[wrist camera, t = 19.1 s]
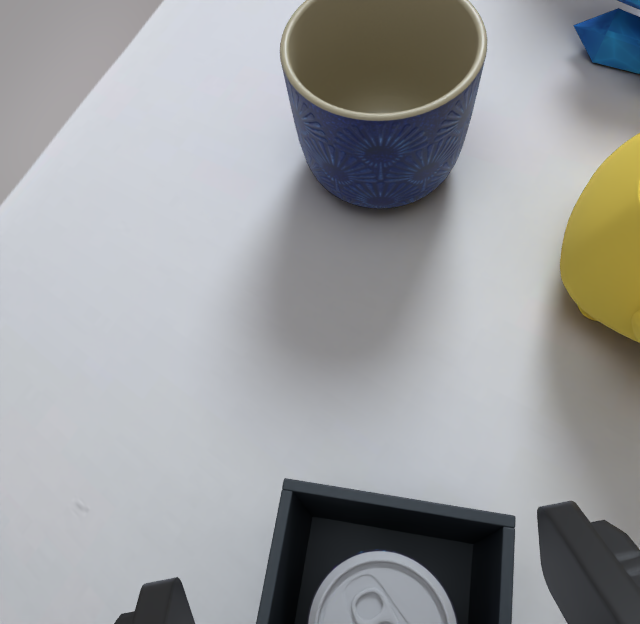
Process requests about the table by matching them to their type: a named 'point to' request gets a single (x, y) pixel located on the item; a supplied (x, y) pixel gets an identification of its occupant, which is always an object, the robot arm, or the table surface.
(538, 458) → the table surface
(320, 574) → the trash bin
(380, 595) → the beverage can
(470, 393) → the table surface
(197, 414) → the table surface
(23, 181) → the table surface
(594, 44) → the crystal
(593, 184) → the teapot
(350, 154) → the planter
